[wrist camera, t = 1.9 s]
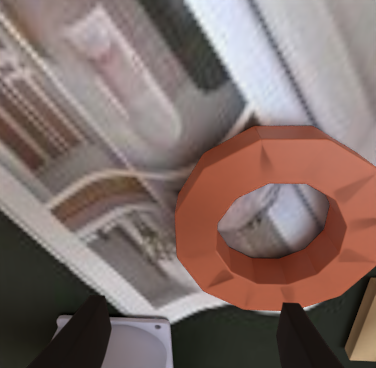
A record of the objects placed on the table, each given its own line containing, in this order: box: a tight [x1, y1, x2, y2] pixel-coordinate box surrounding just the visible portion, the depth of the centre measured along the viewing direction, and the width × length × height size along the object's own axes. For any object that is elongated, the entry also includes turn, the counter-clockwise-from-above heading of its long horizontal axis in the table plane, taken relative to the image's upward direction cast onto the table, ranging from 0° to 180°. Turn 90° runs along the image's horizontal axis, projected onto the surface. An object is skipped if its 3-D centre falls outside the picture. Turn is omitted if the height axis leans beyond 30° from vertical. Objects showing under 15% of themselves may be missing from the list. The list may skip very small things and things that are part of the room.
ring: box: [175, 126, 376, 311], centre depth 17 cm, size 12×12×2 cm
